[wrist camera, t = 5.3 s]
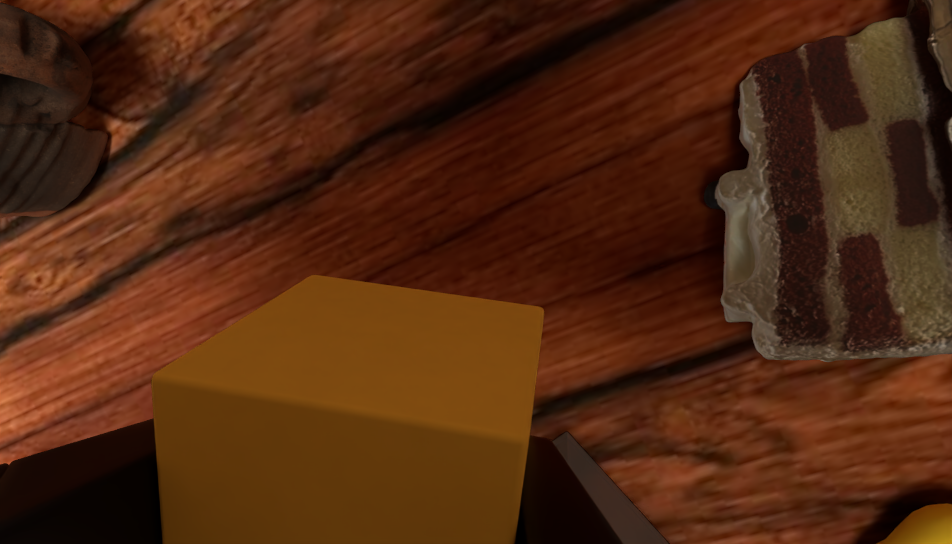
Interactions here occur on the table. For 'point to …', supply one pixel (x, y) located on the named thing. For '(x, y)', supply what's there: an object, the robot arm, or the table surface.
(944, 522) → the light bulb
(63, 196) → the brown ring
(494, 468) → the block
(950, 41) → the chocolate cake
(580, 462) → the bin
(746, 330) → the table surface
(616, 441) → the table surface
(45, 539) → the robot arm
